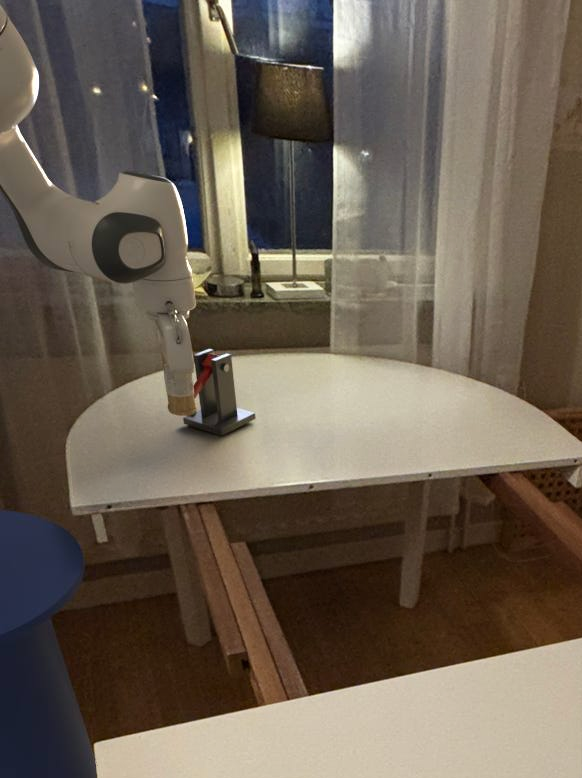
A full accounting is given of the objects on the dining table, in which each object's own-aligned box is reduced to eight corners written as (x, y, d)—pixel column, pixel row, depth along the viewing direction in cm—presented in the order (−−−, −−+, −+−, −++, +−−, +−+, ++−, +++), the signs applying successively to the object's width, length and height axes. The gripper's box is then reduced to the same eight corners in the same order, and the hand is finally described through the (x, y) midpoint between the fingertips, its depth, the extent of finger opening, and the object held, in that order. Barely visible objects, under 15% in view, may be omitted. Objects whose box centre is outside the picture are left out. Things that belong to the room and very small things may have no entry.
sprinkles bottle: (177, 405, 131) (166, 323, 123) (202, 409, 131) (193, 328, 123) (163, 414, 127) (151, 331, 119) (188, 419, 127) (178, 335, 119)
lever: (193, 420, 138) (187, 412, 136) (171, 414, 139) (165, 405, 137) (231, 366, 142) (225, 357, 140) (209, 360, 143) (203, 350, 141)
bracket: (222, 435, 143) (213, 367, 135) (183, 423, 145) (173, 356, 138) (255, 418, 150) (249, 353, 142) (218, 407, 153) (210, 342, 145)
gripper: (197, 313, 112) (209, 404, 120) (176, 275, 126) (188, 360, 134) (151, 314, 109) (167, 408, 118) (135, 276, 123) (150, 362, 132)
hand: (178, 382), depth 126 cm, fingers closed on sprinkles bottle, 4 cm apart
